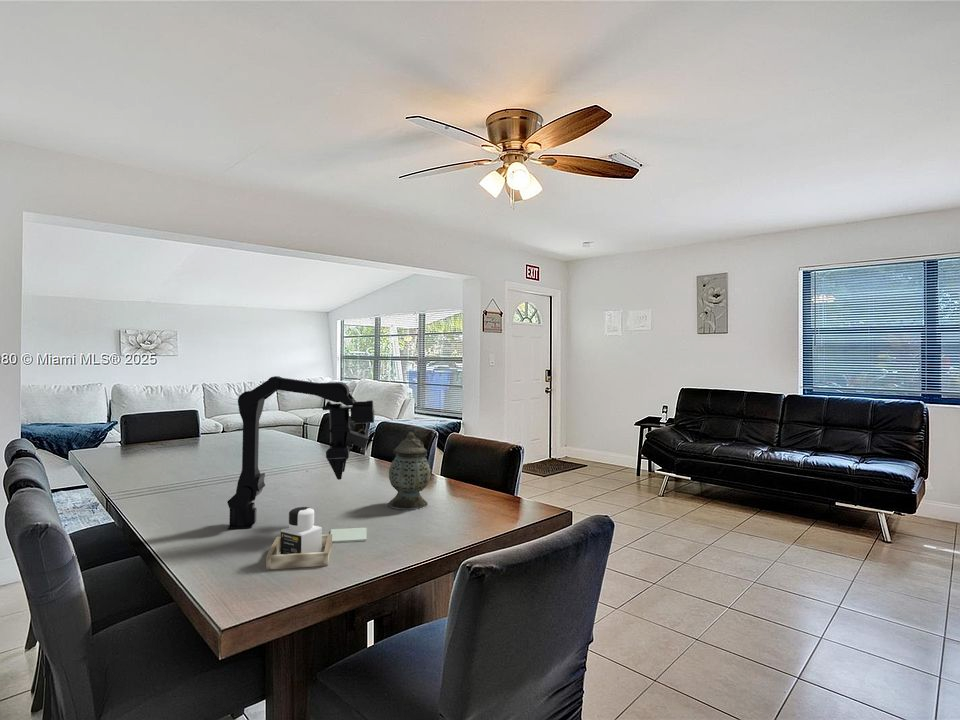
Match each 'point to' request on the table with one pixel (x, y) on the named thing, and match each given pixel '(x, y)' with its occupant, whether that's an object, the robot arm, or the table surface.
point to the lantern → (409, 474)
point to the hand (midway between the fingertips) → (341, 475)
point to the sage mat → (349, 535)
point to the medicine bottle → (301, 533)
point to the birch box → (298, 556)
